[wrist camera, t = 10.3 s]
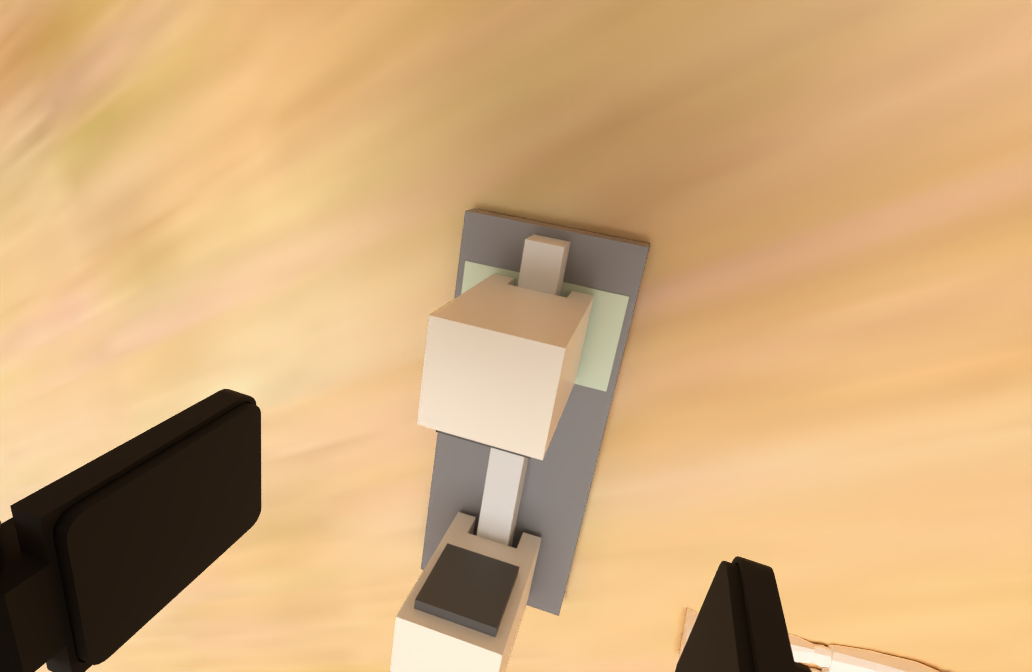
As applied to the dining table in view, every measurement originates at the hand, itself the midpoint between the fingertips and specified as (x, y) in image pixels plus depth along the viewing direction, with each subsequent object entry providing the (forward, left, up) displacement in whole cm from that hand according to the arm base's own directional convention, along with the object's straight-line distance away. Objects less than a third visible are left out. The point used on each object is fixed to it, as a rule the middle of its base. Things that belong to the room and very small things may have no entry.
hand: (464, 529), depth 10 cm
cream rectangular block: (+2, -3, -20) cm, 20 cm away
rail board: (+9, -3, -22) cm, 24 cm away
